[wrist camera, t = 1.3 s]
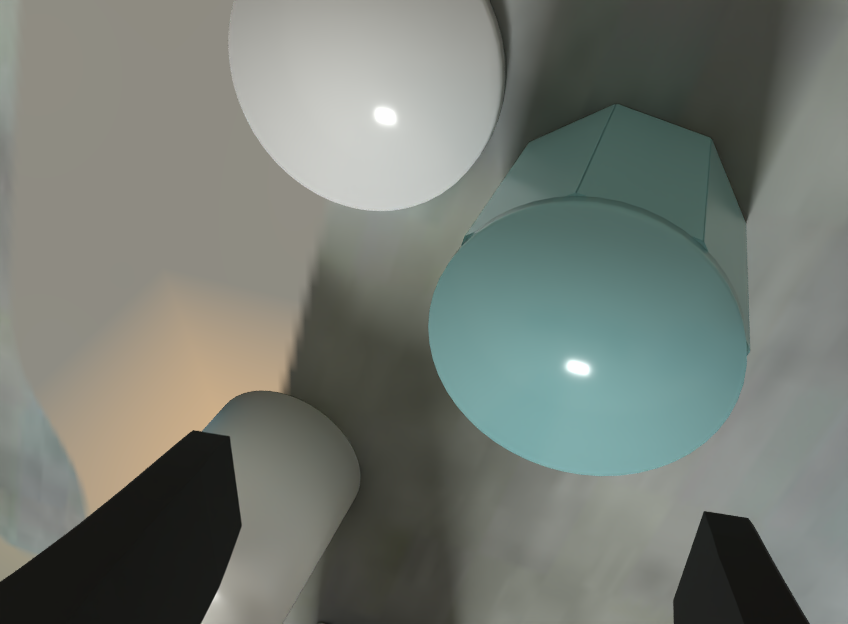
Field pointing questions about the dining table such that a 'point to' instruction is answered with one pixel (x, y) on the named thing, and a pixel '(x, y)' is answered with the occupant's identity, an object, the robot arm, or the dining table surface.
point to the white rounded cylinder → (280, 502)
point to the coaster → (370, 92)
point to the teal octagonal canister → (600, 299)
